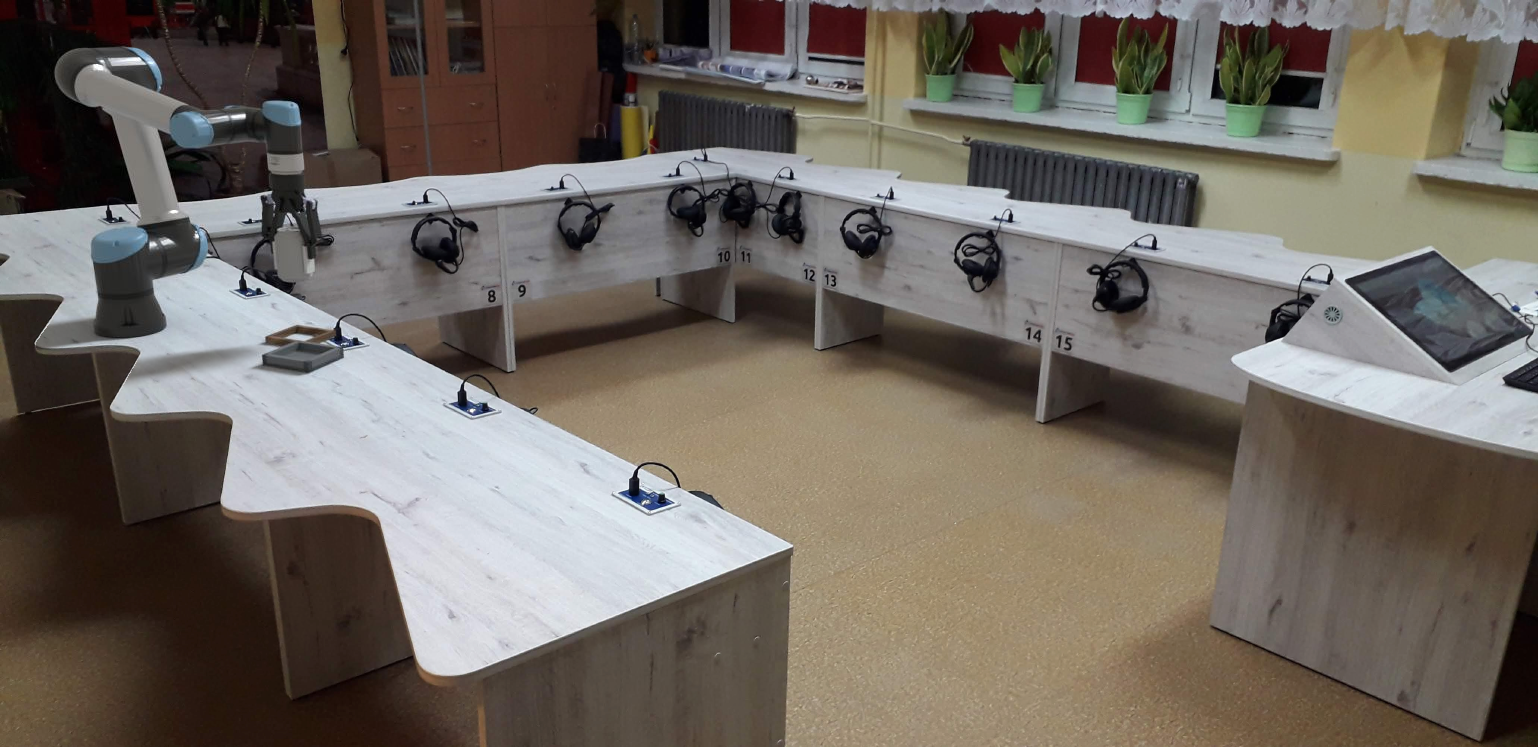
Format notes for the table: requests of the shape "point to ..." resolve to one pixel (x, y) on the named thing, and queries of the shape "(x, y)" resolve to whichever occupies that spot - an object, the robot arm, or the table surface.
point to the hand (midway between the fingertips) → (294, 270)
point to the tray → (303, 356)
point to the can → (290, 255)
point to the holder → (279, 336)
